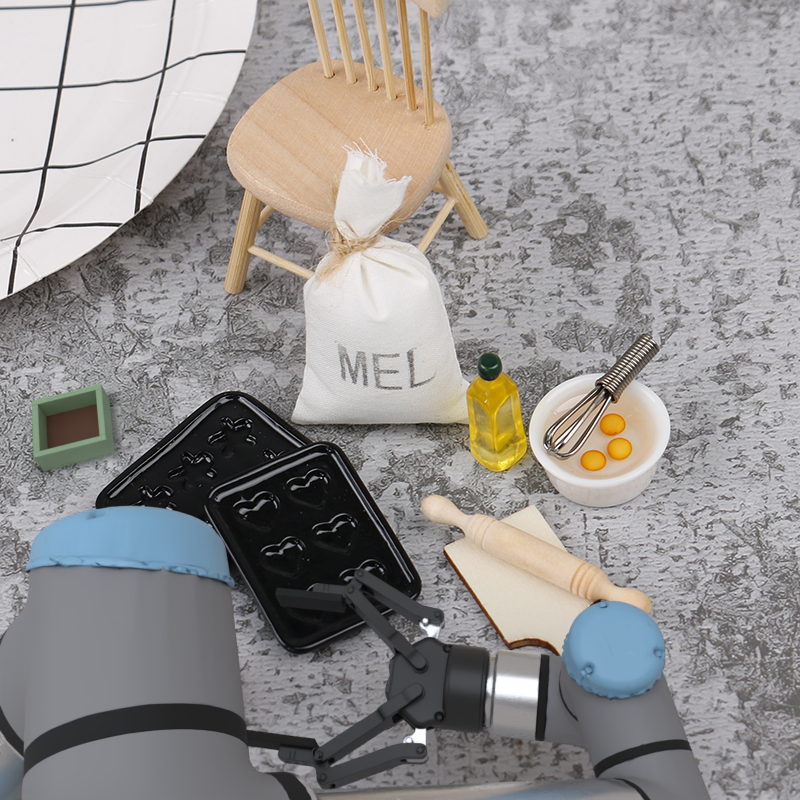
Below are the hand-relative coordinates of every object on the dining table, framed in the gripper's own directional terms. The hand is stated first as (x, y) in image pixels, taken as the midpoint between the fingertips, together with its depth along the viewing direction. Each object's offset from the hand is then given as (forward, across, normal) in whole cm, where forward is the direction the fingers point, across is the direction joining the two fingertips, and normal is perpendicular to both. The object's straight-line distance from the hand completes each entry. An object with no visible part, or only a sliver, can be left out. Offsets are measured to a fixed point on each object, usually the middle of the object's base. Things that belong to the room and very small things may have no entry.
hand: (262, 664), depth 88 cm
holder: (+35, +32, -14) cm, 50 cm away
